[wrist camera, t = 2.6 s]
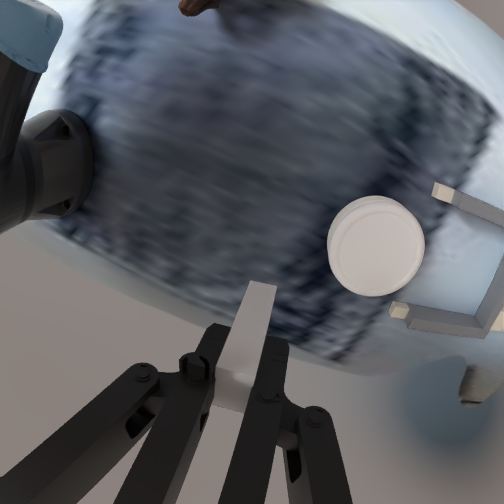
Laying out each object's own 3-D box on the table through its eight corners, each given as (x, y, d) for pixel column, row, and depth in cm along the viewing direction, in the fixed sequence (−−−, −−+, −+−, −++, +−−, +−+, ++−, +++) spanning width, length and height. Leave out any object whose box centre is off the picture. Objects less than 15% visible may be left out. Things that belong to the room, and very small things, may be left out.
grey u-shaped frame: (388, 310, 31) (393, 326, 28) (434, 181, 24) (447, 188, 21) (488, 327, 29) (496, 340, 26) (534, 226, 22) (547, 235, 19)
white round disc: (312, 263, 31) (312, 279, 27) (349, 178, 26) (355, 185, 23) (388, 292, 30) (395, 310, 27) (429, 218, 26) (442, 229, 23)
